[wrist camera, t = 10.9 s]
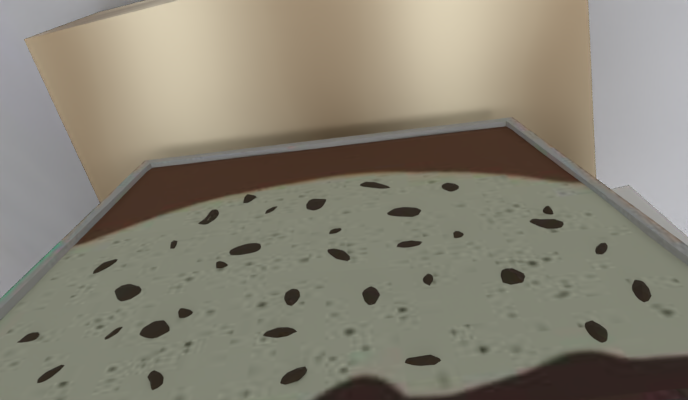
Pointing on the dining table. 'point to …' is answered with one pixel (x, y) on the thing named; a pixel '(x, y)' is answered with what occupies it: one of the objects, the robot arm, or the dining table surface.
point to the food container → (356, 279)
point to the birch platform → (311, 74)
